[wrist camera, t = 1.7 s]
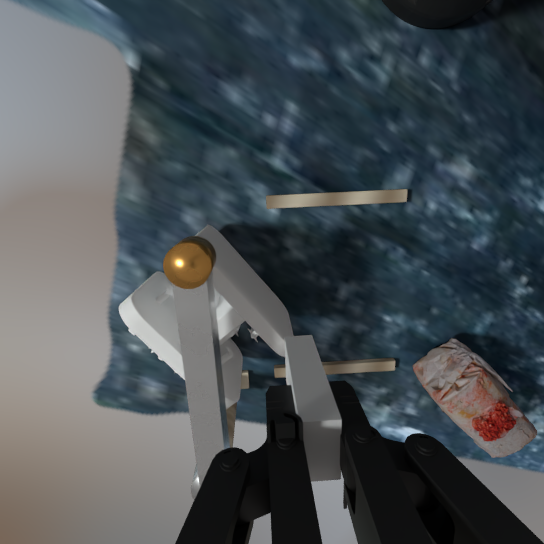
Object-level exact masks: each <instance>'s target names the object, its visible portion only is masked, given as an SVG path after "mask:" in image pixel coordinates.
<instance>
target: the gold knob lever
mask: <svg viewBox="0 0 544 544" xmlns="http://www.w3.org/2000/svg"><path fill="white" fill-rule="evenodd" d="M215 263H216V252H215V249H214V247H213V245H212V244H211V243H210V242H209V241H208V240H206V239H205V238H202V237H199V236H190V237H187V238H185V239H183V240H182V241H180V242H179V243H178V244H177V245H175V246H174V247H173V248H172V249H171V250H169V252H168V253H167V254H166V256H165V258H164V263H163V267H164V272H165V275H166V277H167V278H168V280H169V281H170V282H171V283H172V287H173V294H174V302H175V309H176V316H177V324H178V331H179V338H180V346H181V353H182V360H183V368H184V375H185V382H186V390H187V397H188V404H189V412H190V418H191V426H192V434H193V441H194V448H195V455H196V468H195V472H194V478H193V482H192V486H191V494H192V497H193V499H194V500H195V498H196V496H197V493H198V491H199V489H200V487H201V484H202V482H203V480H204V477H205V475H206V473H207V471H208V468H209V466H210V464H211V462H212V460H213V458H214V457H215V455H216V454H217V453H219V452H220V451H222V450H224V449H227V448H231V447H230V444H229V434H228V423H227V413H226V403H225V393H224V383H223V373H222V363H221V353H220V342H219V332H218V322H217V312H216V302H215V292H214V282H213V272H212V269H213V267H214V265H215Z"/></svg>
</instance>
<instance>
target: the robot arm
mask: <svg viewBox="0 0 544 544" xmlns="http://www.w3.org/2000/svg"><path fill="white" fill-rule="evenodd" d="M382 1H383V3H384V4H385V5H386V6H387V7H388V8H389V9H390V11H392V12H393V13H394V14H395V15H396V16H398V17H399V18H400V19H402V20H404V21H405V22H407V23H410V24H412V25H415V26H418V27H423V28H444V27H449V26H453V25H456V24H458V23H461V22H463V21H465V20H467V19H469V18H470V17H472V16H473V15H475V14H476V13H477V12H479V11H480V10H481V9H483V8H484V7H485V6H487V5H488V4H489V3H491V2H492V1H493V0H382ZM285 364H286V382H287V385H282V386H270V387H269V389H268V391H267V392H266V412H267V439H266V441H265V443H264V444H263V445H262V446H261V447H260V448H258V449H257V450H255V451H252V452H250V453H246V452H245V451H243V450H242V449H239V448H227V449H224V450H222V451H220V452H219V453H217V454H216V455H215V457H214V458H213V460H212V462H211V464H210V466H209V468H208V471H207V473H206V475H205V477H204V480H203V482H202V484H201V487H200V489H199V491H198V493H197V496H196V498H195V500H194V502H193V505H192V507H191V509H190V512H189V514H188V516H187V518H186V521H185V523H184V526H183V527H182V530H181V532H180V534H179V537H178V539H177V541H176V543H175V544H248V543H249V539H250V535H251V531H252V527H253V521H254V519H257V518H259V517H261V516H263V515H266V514H268V513H270V512H271V530H272V544H322V540H321V534H320V529H319V523H318V518H317V512H316V507H315V502H314V496H313V491H312V485H311V481H323V480H338V479H341V471H342V475H343V478H344V500H343V503H344V509H346V508H347V505H348V509H349V512H350V516H351V519H352V523H353V527H354V531H355V534H356V537H357V541H358V544H544V543H543V542H542V541H541V540H540V539H539V538H538V537H537V536H536V535H535V534H534V533H533V532H532V531H531V530H529V528H528V527H527V526H526V525H525V524H524V523H522V522H521V521H520V520H519V519H518V518H517V517H516V516H515V515H514V514H513V513H512V512H511V511H510V510H509V509H508V508H507V507H506V506H505V505H504V504H503V503H502V502H501V501H500V500H499V499H498V498H497V497H496V496H495V495H494V494H493V493H492V492H491V491H490V490H489V489H488V488H487V487H486V486H485V485H483V484H482V483H481V481H479V480H478V479H477V478H476V477H475V476H474V475H473V474H472V473H471V472H470V471H469V470H468V469H467V468H466V467H465V466H464V465H463V464H462V463H461V462H460V461H459V460H458V459H457V458H456V457H455V456H454V455H453V454H452V453H451V452H450V451H449V450H448V449H447V448H446V447H445V446H444V445H443V444H442V443H440V442H439V441H438V440H436V439H435V438H433V437H431V436H429V435H426V434H420V433H417V434H412V435H410V436H408V437H407V439H406V440H405V443H404V442H398V441H393V440H389V439H386V438H384V437H382V436H381V435H380V433H379V432H378V431H377V430H376V429H375V428H373V427H372V426H370V424H369V422H368V419H367V417H366V415H365V413H364V411H363V409H362V406H361V404H360V403H359V400H358V398H357V396H356V393H355V391H354V389H353V387H352V386H351V385H350V384H348V383H347V382H346V381H332V382H328V379H327V376H326V374H325V371H324V368H323V365H322V362H321V359H320V357H319V354H318V351H317V348H316V345H315V342H314V340H313V337H312V335H303V336H287V337H285Z"/></svg>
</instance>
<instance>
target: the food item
mask: <svg viewBox="0 0 544 544" xmlns="http://www.w3.org/2000/svg"><path fill="white" fill-rule="evenodd" d="M413 369H414V372H415V374H416V376H417V378H418V379H419V381H420V382H421V384H422V386H423V387H424V388H425V389H426V391H427V392H428V393H429V395H430V396H431V397H432V398H433V400H434V401H435V402H436V403H437V404H438V405H439V406H440V407H441V410H442V411H443V413H444V412H445V413H446V415H448V416H449V417H450V418H451V419H452V420H453V421H454V422H455V423H456V424H457V425H458V426H459V427H460V428H461V429H463V430H464V431H465V432H466V433H467V434H468V435H469V436H470V437H471V438H473V439H474V442H475V443H476V444H477V445H478V446H479V447H480V448H482V449H484V450H485V451H486V452H488V453H489V454H490V455H491V457H492V458H495V457H505V456H508V455H510V454H512V453H515V452H517V451H519V450H521V449H522V448H523V447H524V446H525V445H526V444H528V443H529V442H530V441H532V440H533V439H534V438H535V437H536V435H537V430H536V429H535V427H534V426H533V424H532V423H531V422H530V421H529V420H528V419H527V418H526V416H525V415H524V414H523V412H522V411H521V410H520V408H519V407H518V406H517V405H516V404H515V403H514V402H513V401H512V400H511V399H510V398H509V394H508V392H507V391H506V390H505V388H504V386H505V387H507V388H508V389H509V390H510V391H512V389H511V388H510V387H509V386H508V385H507V384H506V383H505V382H504V380H503V379H502V378H501V377H500V376H499V375H498V374H497V373H496V371H495V370H494V369H493V368H492V367H491V366H490V365H489V364H488V363H487V362H485V361H484V359H482V358H481V357H480V356H479V355H477V354H475V353H473V352H471V349H469V348H468V347H467V346H466V345H464V344H462V343H461V342H459V341H458V340H456V339H450V340H449V341H448V342H447V343H446V344H443V345H441V346H440V347H438V348H434V349H432V350H431V351H430V352H428V354H427V355H426V356H424V357H423V358H421V359H420V360H419V361H417V362H416V363H415V364H414V365H413ZM497 378H498V379H497ZM501 382H502V383H503V384H502V383H501ZM503 385H504V386H503ZM512 392H513V391H512Z"/></svg>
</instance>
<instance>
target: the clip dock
mask: <svg viewBox="0 0 544 544" xmlns="http://www.w3.org/2000/svg"><path fill="white" fill-rule="evenodd" d="M395 202H407V189H396V190H375V191H354V192H332V193H311V194H290V195H269V196H266V204H267V209H271V208H291V207H312V206H333V205H354V204H374V203H395ZM322 365H323V368H324V371H325V374H326V375H328V374H344V373H360V372H376V371H392V370H395V360H394V358H382V359H365V360H349V361H333V362H322ZM274 372H275V378H280V377H286V364H284V365H274ZM247 388H249V375H248V370H242V374H241V386H240V389H247ZM236 406H237V402H236V403H234V404H233V405H232V406H230V407H229V408H228V409H226V413H227V423H228V434H229V444H230V447H231V448H233V438H234V437H233V436H234V427H235V417H236Z"/></svg>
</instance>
